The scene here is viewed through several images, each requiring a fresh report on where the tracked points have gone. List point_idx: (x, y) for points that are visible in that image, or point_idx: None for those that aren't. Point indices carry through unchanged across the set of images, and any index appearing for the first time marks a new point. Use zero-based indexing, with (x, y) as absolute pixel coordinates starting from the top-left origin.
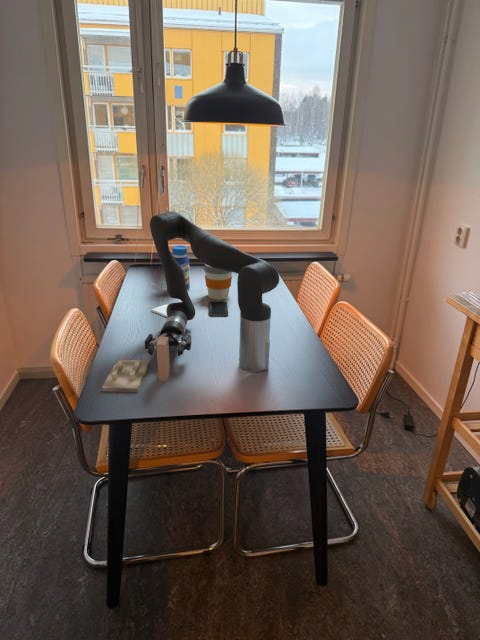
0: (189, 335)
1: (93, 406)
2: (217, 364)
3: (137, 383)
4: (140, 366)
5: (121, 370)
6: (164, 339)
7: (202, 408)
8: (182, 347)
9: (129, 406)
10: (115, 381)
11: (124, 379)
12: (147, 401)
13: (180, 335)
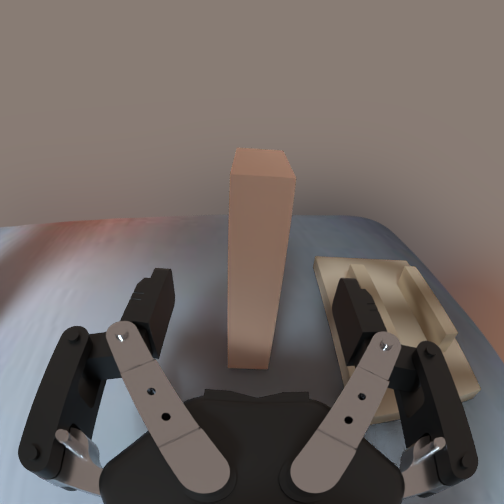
0: (29, 451)
1: (379, 236)
2: (14, 394)
3: (326, 272)
4: None
5: (421, 329)
6: (250, 163)
7: (139, 225)
8: (132, 307)
9: (307, 233)
10: (395, 280)
11: (378, 289)
12: None
13: (121, 501)
